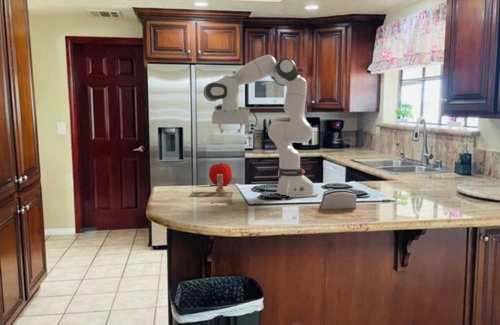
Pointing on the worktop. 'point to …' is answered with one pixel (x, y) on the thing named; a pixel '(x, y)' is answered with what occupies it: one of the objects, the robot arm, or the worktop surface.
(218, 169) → the tomato
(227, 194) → the walnut board
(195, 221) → the worktop surface
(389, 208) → the worktop surface
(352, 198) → the grey arched slab
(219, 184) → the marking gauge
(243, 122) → the robot arm
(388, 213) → the worktop surface
